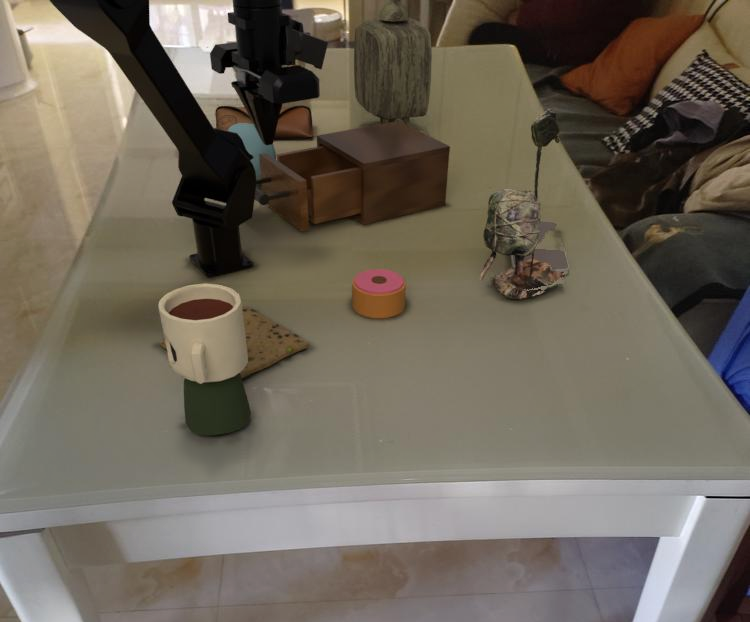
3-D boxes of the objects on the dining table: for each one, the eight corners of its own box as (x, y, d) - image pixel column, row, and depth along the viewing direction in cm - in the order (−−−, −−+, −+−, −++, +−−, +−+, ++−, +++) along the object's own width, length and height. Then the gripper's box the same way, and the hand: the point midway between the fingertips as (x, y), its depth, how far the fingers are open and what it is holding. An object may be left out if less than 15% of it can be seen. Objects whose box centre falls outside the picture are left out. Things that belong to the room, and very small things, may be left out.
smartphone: (513, 267, 97) (505, 219, 108) (512, 274, 98) (505, 225, 109) (570, 270, 97) (557, 221, 108) (569, 276, 98) (556, 227, 108)
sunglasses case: (214, 139, 133) (210, 98, 132) (217, 149, 140) (214, 110, 139) (315, 137, 135) (312, 97, 134) (314, 147, 142) (311, 109, 140)
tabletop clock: (427, 143, 135) (437, -24, 118) (380, 149, 133) (383, -21, 116) (396, 120, 145) (401, -38, 128) (352, 124, 142) (351, -36, 125)
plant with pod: (469, 274, 98) (477, 109, 84) (554, 266, 98) (576, 100, 84) (482, 306, 92) (493, 134, 78) (572, 297, 93) (599, 124, 79)
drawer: (270, 238, 103) (266, 188, 98) (233, 207, 110) (228, 159, 106) (383, 212, 110) (384, 164, 105) (341, 185, 117) (340, 139, 113)
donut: (414, 310, 91) (416, 284, 88) (369, 323, 88) (370, 297, 86) (386, 288, 94) (387, 262, 92) (342, 300, 92) (342, 274, 90)
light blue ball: (197, 119, 117) (273, 115, 116) (209, 177, 123) (281, 174, 122) (187, 134, 112) (266, 130, 111) (200, 194, 118) (275, 191, 117)
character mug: (190, 391, 77) (168, 273, 69) (259, 390, 78) (246, 272, 69) (174, 458, 69) (147, 334, 61) (251, 457, 70) (235, 333, 61)
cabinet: (363, 225, 109) (363, 163, 103) (318, 194, 117) (316, 135, 111) (445, 205, 114) (450, 146, 108) (396, 177, 123) (398, 120, 117)
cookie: (158, 345, 84) (156, 337, 83) (245, 308, 90) (244, 301, 89) (222, 389, 77) (221, 382, 77) (310, 347, 84) (310, 339, 83)
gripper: (357, 11, 86) (357, 154, 96) (281, -14, 97) (288, 116, 108) (270, 21, 81) (280, 170, 92) (201, -7, 92) (217, 128, 103)
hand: (268, 144), depth 99 cm, fingers closed
